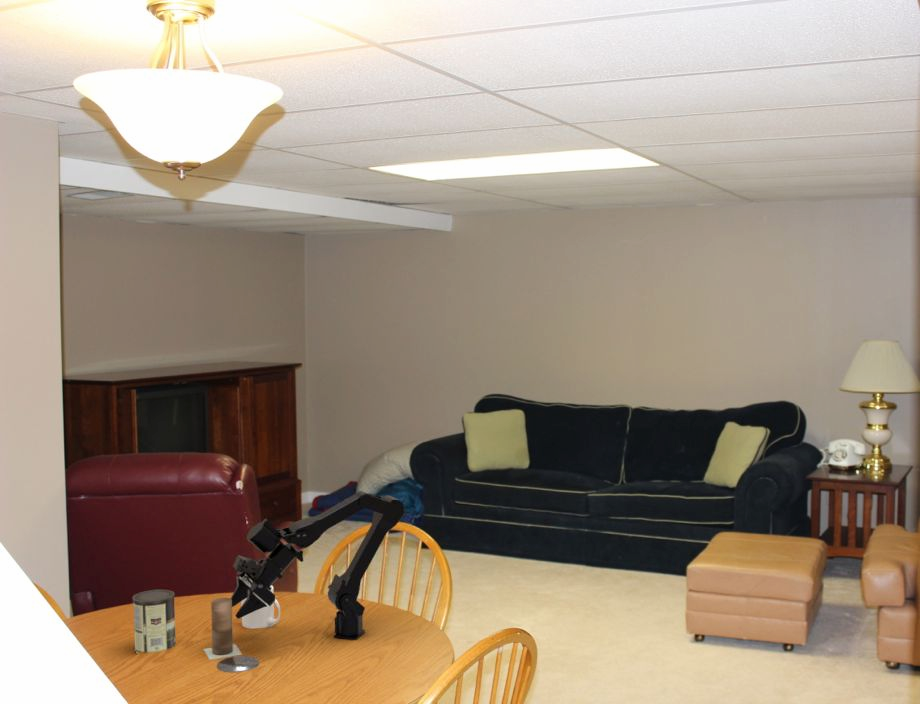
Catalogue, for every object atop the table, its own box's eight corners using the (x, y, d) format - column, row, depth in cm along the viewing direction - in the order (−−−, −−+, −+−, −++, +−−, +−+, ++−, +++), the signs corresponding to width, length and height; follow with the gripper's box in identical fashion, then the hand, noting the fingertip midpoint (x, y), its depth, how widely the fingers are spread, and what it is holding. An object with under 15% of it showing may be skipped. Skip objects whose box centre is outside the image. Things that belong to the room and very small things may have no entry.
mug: (269, 636, 268) (268, 596, 267) (235, 629, 274) (234, 590, 273) (290, 626, 275) (289, 587, 274) (256, 619, 281) (255, 581, 280)
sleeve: (236, 649, 256) (235, 598, 255) (226, 656, 251) (225, 604, 250) (218, 647, 257) (217, 597, 256) (208, 654, 252) (207, 603, 251)
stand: (235, 647, 259) (235, 644, 259) (242, 658, 252) (242, 654, 252) (203, 652, 256) (203, 649, 256) (209, 663, 249) (209, 659, 249)
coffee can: (162, 639, 266) (161, 586, 265) (183, 648, 259) (182, 594, 258) (126, 649, 259) (124, 595, 258) (147, 659, 252) (145, 604, 251)
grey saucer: (266, 663, 249) (266, 658, 249) (246, 678, 239) (246, 673, 239) (230, 659, 252) (230, 654, 251) (209, 673, 242) (209, 669, 242)
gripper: (244, 536, 264) (202, 582, 260) (261, 553, 247) (217, 603, 243) (274, 562, 268) (233, 608, 264) (293, 580, 251) (250, 630, 247)
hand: (232, 612), depth 254 cm, fingers open, 9 cm apart
